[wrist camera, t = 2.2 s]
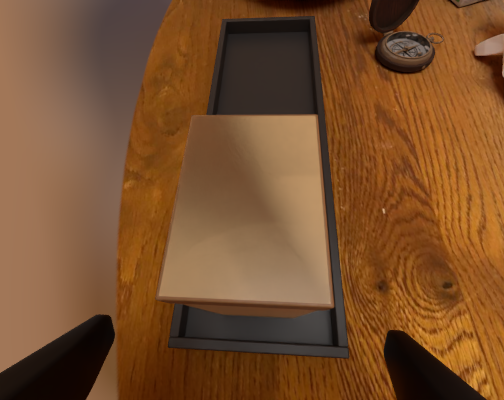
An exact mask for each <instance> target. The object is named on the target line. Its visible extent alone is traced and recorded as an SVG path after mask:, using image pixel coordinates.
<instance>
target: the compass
mask: <svg viewBox="0 0 504 400" xmlns="http://www.w3.org/2000/svg"><path fill="white" fill-rule="evenodd" d="M418 2H419V0H372V3H371V7H370V11H369V21H370V25H371V26H372V27H373V29H374V30H376V31H378V32H380V33H383V36H385V37H383V38H382V39H381V40H380V41H379V43H378V45H377V48H376V56H377V58H378V60H379V61H380V62H381V63H382V64H383V65H385V66H387V67H388V68H390V69H393V70H396V71H402V72H414V71H418V70H422V69H424V68H425V67H427V66H428V65H429V64H430V63H431V61H432V60H433V58H434V55H435V50H434V47H433V46H432V44H431V43H435V44H438V43H441V42H443V40H444V37H443V36H442V35H440V34H438V33H430V34H428V35H427V37H424V36H423V35H421V34H418V33H415V32H411V31H399V32H395V33H393V30H394V29H396V28H397V27H398V26H400V25H401V24H402V23H403V22H404V21H405V20H406V19H407V18H408V17H409V16H410V14H411V13H412V11H413V10H414V9H415V7H416V5H417V3H418ZM391 33H392V34H391ZM432 34H434V35H439V36H440V37H441V38H442V41H440V42H433V41H434V37H430V38H428V36H429V35H432ZM430 42H431V43H430Z"/></svg>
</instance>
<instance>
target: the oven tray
mask: <svg viewBox="0 0 504 400" xmlns="http://www.w3.org/2000/svg"><path fill="white" fill-rule="evenodd" d="M300 114H317V115H318V123H319V135H320V146H321V158H322V170H323V181H324V193H325V204H326V216H327V227H328V239H329V250H330V262H331V274H332V285H333V297H334V308H332V309H329V310H325V311H321V310H318V311H315V312H312V313H308V314H305V315H302V316H299V317H296V318H276V317H256V316H237V315H222V314H218V313H214V312H210V311H206V310H202V309H198V308H195V307H191V306H187V305H183V304H175V306H174V312H173V318H172V324H171V330H170V337H169V342H168V347H169V348H184V349H200V350H216V351H233V352H249V353H266V354H282V355H298V356H315V357H331V358H349V349H348V338H347V329H346V319H345V309H344V299H343V289H342V280H341V270H340V260H339V250H338V241H337V231H336V221H335V211H334V201H333V192H332V182H331V172H330V162H329V152H328V143H327V133H326V123H325V113H324V104H323V94H322V84H321V74H320V64H319V55H318V45H317V35H316V25H315V16H299V17H270V18H241V19H222V25H221V31H220V37H219V43H218V49H217V55H216V61H215V67H214V73H213V79H212V85H211V91H210V97H209V103H208V109H207V115H300Z"/></svg>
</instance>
